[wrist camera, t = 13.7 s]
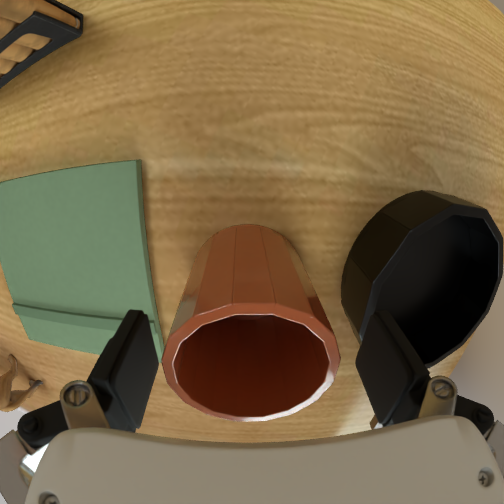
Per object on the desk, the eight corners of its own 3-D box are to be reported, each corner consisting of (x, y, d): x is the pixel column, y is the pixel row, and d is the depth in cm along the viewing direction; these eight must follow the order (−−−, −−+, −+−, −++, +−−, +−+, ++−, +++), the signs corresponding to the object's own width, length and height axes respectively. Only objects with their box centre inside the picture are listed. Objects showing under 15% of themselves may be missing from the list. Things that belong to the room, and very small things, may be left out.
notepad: (141, 159, 14) (134, 160, 13) (166, 355, 19) (163, 365, 18) (-8, 184, 13) (-17, 187, 12) (33, 334, 18) (27, 341, 17)
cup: (305, 225, 16) (357, 300, 8) (294, 318, 18) (321, 416, 11) (190, 223, 15) (147, 300, 8) (197, 318, 18) (177, 418, 10)
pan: (483, 200, 15) (518, 216, 11) (414, 388, 23) (429, 414, 19) (355, 180, 15) (388, 194, 11) (309, 407, 22) (317, 441, 19)
